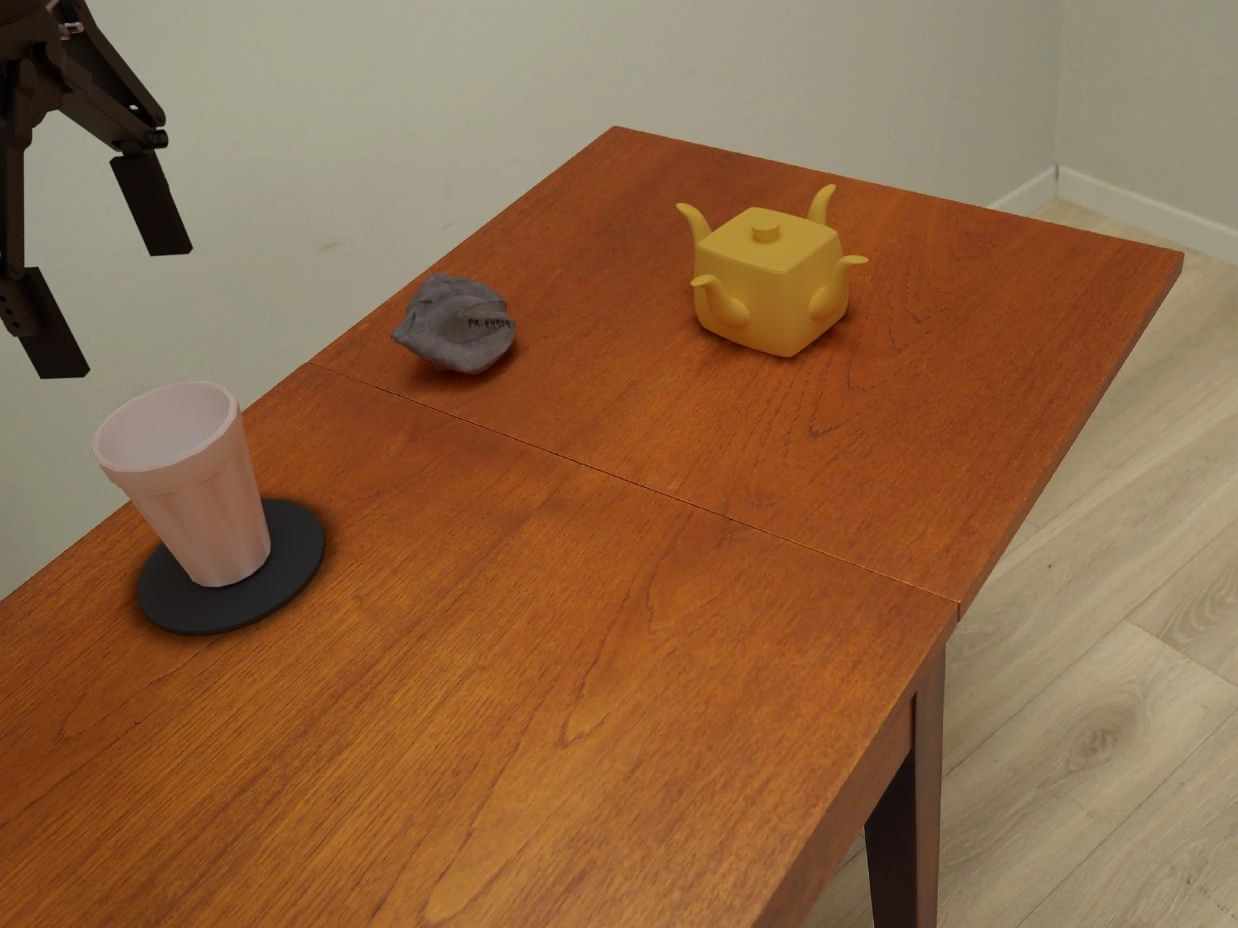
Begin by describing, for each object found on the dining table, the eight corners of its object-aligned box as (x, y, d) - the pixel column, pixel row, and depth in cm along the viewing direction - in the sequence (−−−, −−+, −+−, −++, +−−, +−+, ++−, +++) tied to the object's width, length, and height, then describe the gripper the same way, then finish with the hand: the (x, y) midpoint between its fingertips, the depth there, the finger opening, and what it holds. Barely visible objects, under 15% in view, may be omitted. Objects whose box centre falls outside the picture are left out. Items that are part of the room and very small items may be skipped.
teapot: (870, 353, 97) (869, 250, 91) (701, 377, 98) (689, 276, 92) (837, 266, 108) (834, 169, 102) (686, 288, 109) (674, 193, 103)
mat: (212, 664, 80) (209, 659, 80) (103, 589, 88) (100, 584, 88) (363, 541, 88) (361, 537, 87) (251, 482, 96) (249, 477, 95)
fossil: (456, 410, 99) (434, 331, 94) (384, 382, 104) (359, 305, 99) (541, 343, 105) (523, 265, 100) (469, 319, 110) (449, 244, 105)
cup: (323, 526, 89) (266, 387, 81) (245, 621, 82) (174, 480, 74) (219, 507, 93) (154, 372, 85) (136, 596, 86) (57, 459, 78)
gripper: (-153, 14, 47) (75, 436, 60) (133, -138, 66) (258, 207, 79) (-309, 32, 48) (-53, 439, 61) (15, -122, 67) (158, 214, 80)
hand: (123, 309), depth 70 cm, fingers open, 13 cm apart
